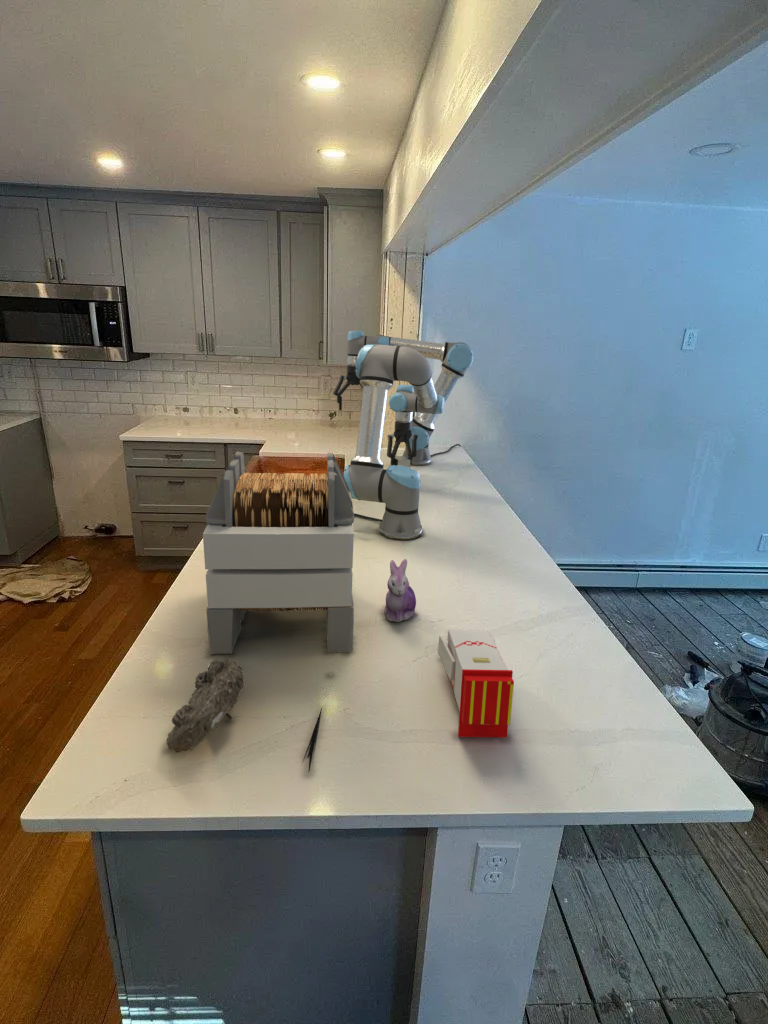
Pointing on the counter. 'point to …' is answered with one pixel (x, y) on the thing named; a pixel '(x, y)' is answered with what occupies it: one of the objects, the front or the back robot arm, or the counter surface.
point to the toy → (478, 682)
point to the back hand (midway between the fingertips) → (353, 409)
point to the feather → (313, 740)
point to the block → (402, 461)
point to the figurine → (399, 594)
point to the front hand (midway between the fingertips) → (400, 472)
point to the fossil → (206, 705)
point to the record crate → (279, 550)
